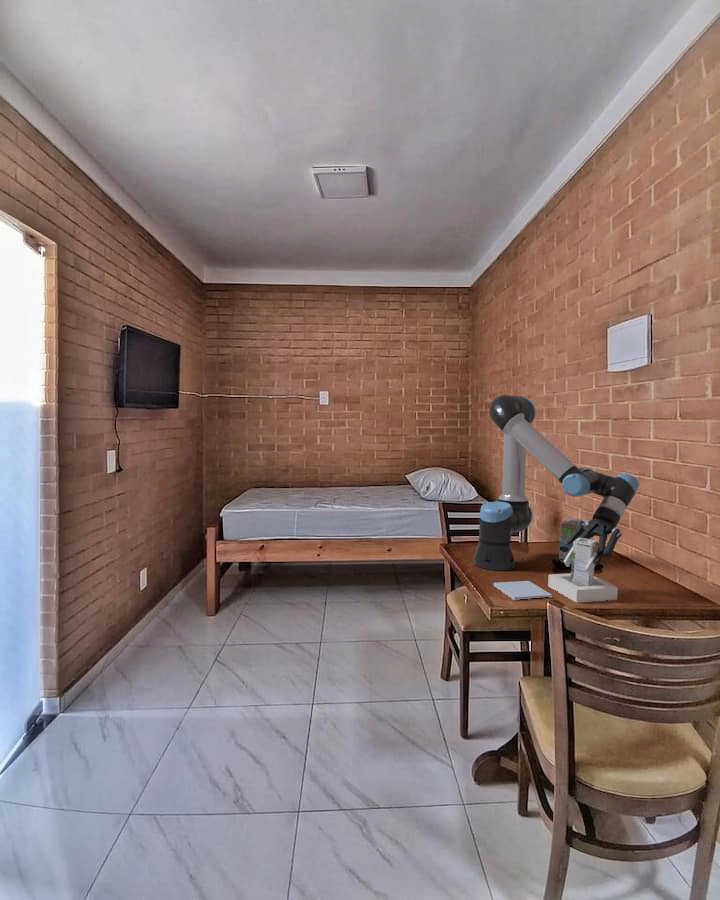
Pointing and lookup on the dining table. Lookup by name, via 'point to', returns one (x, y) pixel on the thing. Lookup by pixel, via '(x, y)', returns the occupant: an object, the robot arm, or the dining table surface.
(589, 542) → the syrup box
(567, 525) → the tea box
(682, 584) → the dining table surface
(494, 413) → the robot arm
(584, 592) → the white tray
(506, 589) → the board
